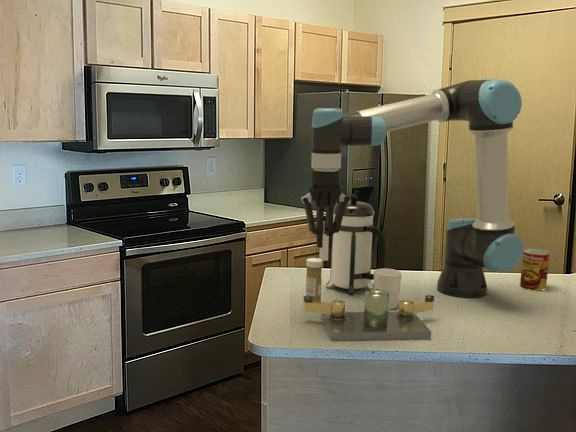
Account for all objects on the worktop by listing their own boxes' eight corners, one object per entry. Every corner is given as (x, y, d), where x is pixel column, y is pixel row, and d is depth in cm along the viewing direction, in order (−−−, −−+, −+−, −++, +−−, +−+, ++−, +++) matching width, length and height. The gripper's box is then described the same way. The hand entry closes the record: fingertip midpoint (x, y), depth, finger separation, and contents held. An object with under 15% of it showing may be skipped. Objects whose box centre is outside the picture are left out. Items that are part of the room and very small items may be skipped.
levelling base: (412, 318, 171) (415, 281, 170) (430, 339, 157) (433, 298, 155) (321, 319, 169) (322, 281, 167) (331, 340, 154) (332, 298, 152)
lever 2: (436, 313, 170) (437, 297, 169) (404, 319, 164) (405, 303, 163) (427, 309, 173) (428, 293, 172) (395, 315, 167) (396, 299, 166)
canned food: (515, 286, 205) (518, 250, 203) (527, 282, 210) (531, 247, 208) (538, 292, 199) (541, 255, 197) (550, 288, 204) (554, 252, 202)
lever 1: (305, 310, 169) (306, 294, 169) (346, 315, 165) (347, 300, 165) (301, 314, 166) (301, 298, 165) (342, 320, 162) (343, 304, 161)
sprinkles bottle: (324, 306, 180) (325, 260, 178) (311, 308, 178) (312, 262, 175) (314, 301, 184) (316, 256, 182) (301, 304, 182) (303, 258, 179)
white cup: (401, 303, 185) (403, 270, 183) (396, 311, 177) (399, 277, 175) (375, 300, 187) (376, 267, 185) (369, 307, 180) (371, 273, 178)
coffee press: (324, 295, 190) (328, 196, 185) (327, 281, 206) (330, 189, 201) (382, 299, 188) (387, 199, 183) (381, 284, 204) (386, 191, 199)
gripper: (344, 167, 167) (341, 254, 171) (297, 168, 163) (295, 257, 167) (355, 170, 160) (352, 261, 164) (305, 171, 156) (304, 264, 160)
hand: (323, 259), depth 166 cm, fingers closed
